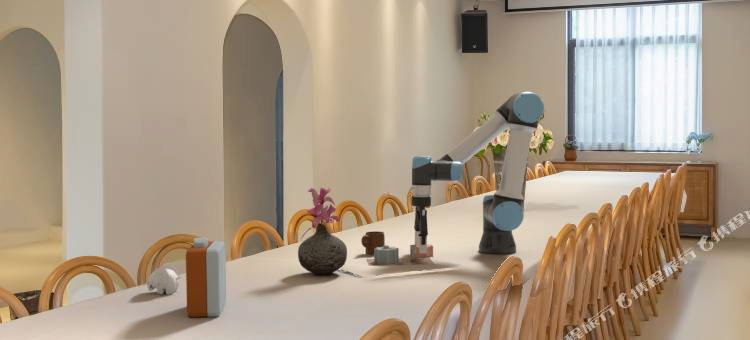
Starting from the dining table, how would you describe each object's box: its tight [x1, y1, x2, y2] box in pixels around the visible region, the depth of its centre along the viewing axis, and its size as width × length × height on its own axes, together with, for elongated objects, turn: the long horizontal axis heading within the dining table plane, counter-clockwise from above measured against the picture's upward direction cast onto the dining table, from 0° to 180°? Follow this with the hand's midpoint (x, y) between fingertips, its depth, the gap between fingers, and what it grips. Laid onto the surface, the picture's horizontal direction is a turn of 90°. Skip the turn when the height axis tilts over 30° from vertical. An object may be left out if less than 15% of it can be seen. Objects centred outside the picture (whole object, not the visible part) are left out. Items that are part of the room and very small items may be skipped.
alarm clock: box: [185, 237, 227, 318], centre depth 222 cm, size 18×9×21 cm, turn 5°
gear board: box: [365, 244, 435, 267], centre depth 294 cm, size 24×14×7 cm, turn 95°
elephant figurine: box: [142, 261, 182, 295], centre depth 247 cm, size 10×12×9 cm
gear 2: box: [414, 243, 434, 258], centre depth 307 cm, size 9×9×5 cm
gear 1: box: [373, 246, 400, 264], centre depth 293 cm, size 9×9×5 cm
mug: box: [361, 230, 386, 256], centre depth 312 cm, size 12×8×9 cm, turn 143°
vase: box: [297, 187, 348, 277], centre depth 275 cm, size 17×17×30 cm
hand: (420, 250), depth 307 cm, fingers open, 13 cm apart
